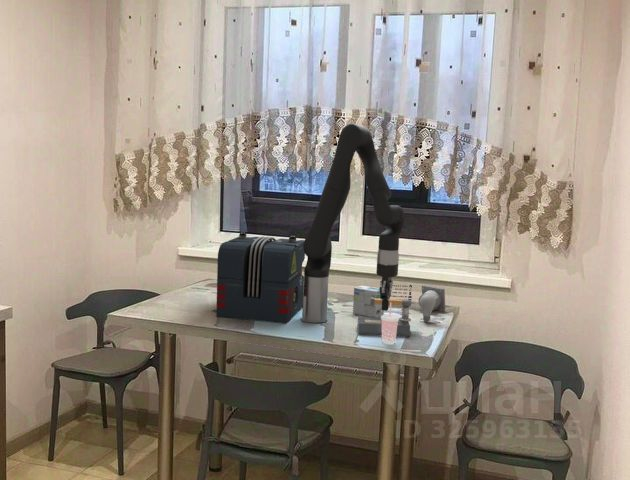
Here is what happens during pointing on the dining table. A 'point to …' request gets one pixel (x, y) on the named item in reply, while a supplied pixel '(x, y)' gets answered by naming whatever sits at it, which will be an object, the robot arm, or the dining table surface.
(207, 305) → the dining table surface
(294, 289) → the power unit
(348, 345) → the dining table surface
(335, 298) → the dining table surface
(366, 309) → the light bulb box
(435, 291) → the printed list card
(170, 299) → the dining table surface
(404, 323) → the grey rectangular block
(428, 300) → the lightbulb
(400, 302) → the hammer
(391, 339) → the beverage cup
